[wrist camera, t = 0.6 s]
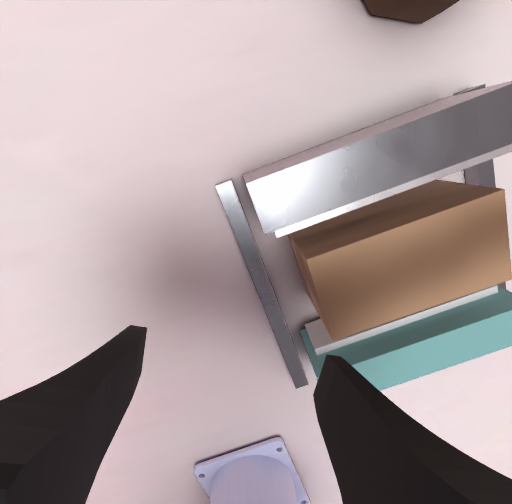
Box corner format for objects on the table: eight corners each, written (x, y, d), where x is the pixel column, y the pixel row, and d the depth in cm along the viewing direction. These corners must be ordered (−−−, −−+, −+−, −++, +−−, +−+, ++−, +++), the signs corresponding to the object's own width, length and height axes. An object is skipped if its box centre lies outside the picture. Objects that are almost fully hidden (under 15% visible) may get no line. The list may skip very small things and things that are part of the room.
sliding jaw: (473, 299, 23) (535, 338, 18) (309, 357, 24) (328, 408, 19) (468, 264, 22) (531, 295, 17) (297, 325, 23) (314, 370, 18)
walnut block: (440, 246, 22) (512, 279, 16) (307, 292, 22) (332, 341, 17) (429, 178, 20) (504, 189, 15) (286, 230, 21) (306, 259, 15)
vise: (495, 307, 24) (578, 356, 18) (293, 377, 24) (311, 446, 19) (469, 88, 19) (573, 60, 13) (216, 184, 19) (209, 197, 14)
